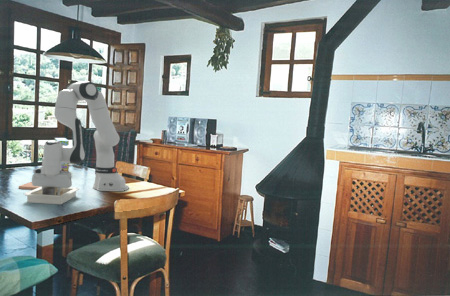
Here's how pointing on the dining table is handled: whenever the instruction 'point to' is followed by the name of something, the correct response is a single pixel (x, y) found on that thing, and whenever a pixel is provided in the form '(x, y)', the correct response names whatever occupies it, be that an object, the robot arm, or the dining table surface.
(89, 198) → the dining table surface
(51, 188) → the box
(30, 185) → the terracotta tile
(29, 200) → the white square tray
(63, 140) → the snack box
